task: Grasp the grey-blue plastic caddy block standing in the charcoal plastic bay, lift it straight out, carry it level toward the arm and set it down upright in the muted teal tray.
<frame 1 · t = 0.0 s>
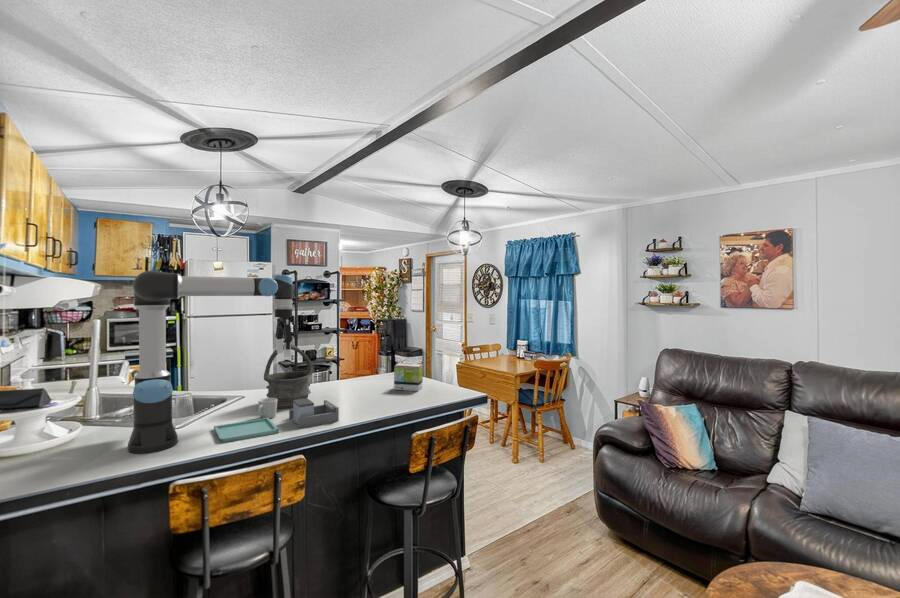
hand: (283, 354, 195), 28 cm above the countertop, fingers open, 13 cm apart
cup: (266, 418, 191), on the countertop
tray: (246, 431, 173), on the countertop
tea box: (408, 389, 250), on the countertop
basket: (288, 403, 217), on the countertop
caddy: (303, 421, 187), resting in bay
bay: (303, 421, 187), on the countertop
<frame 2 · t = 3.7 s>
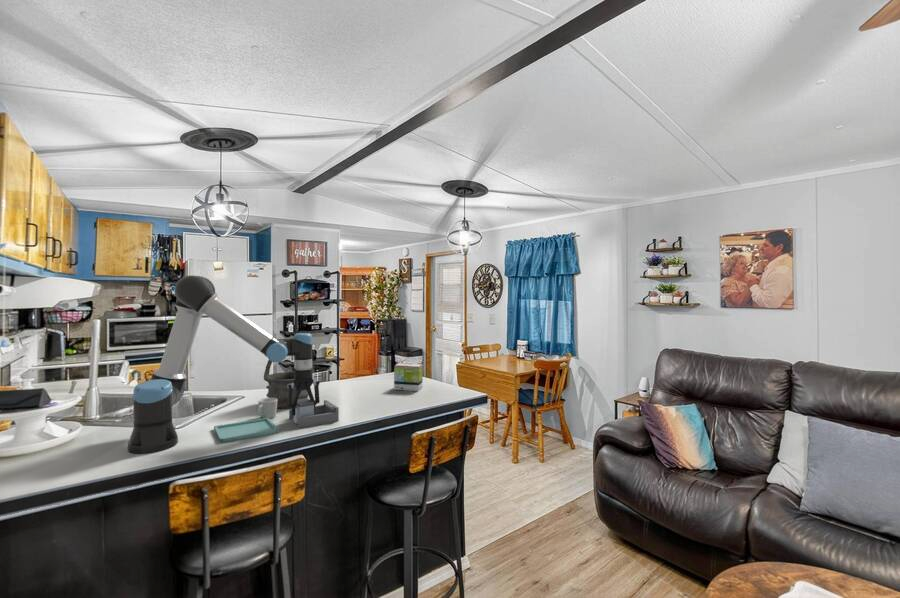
hand: (303, 421, 187), 0 cm above the countertop, fingers open, 6 cm apart
caddy: (303, 421, 187), resting in bay, touching gripper
everything else where it was.
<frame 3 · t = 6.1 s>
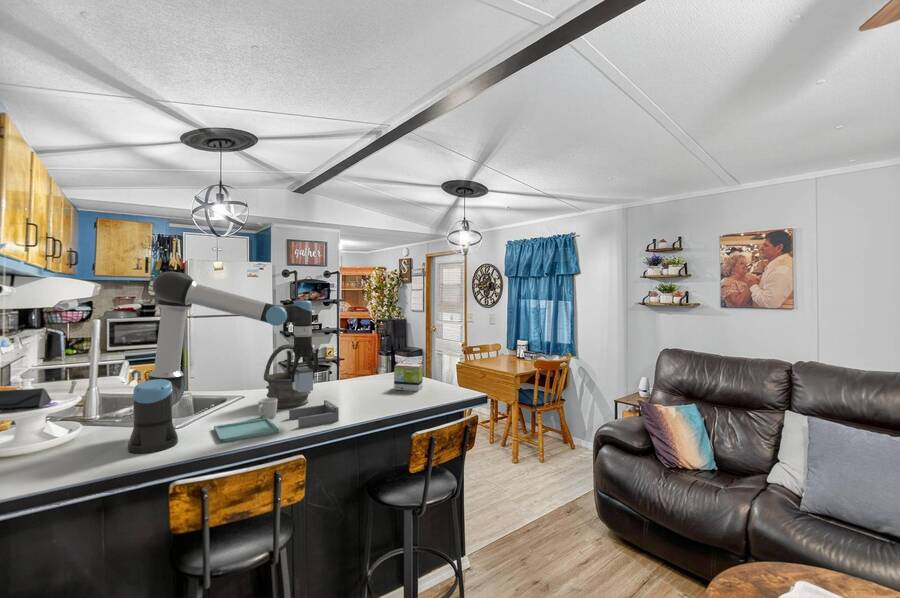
hand: (302, 388, 186), 15 cm above the countertop, fingers closed on caddy, 6 cm apart
caddy: (302, 389, 186), point 14 cm above the countertop, touching gripper
everything else where it was.
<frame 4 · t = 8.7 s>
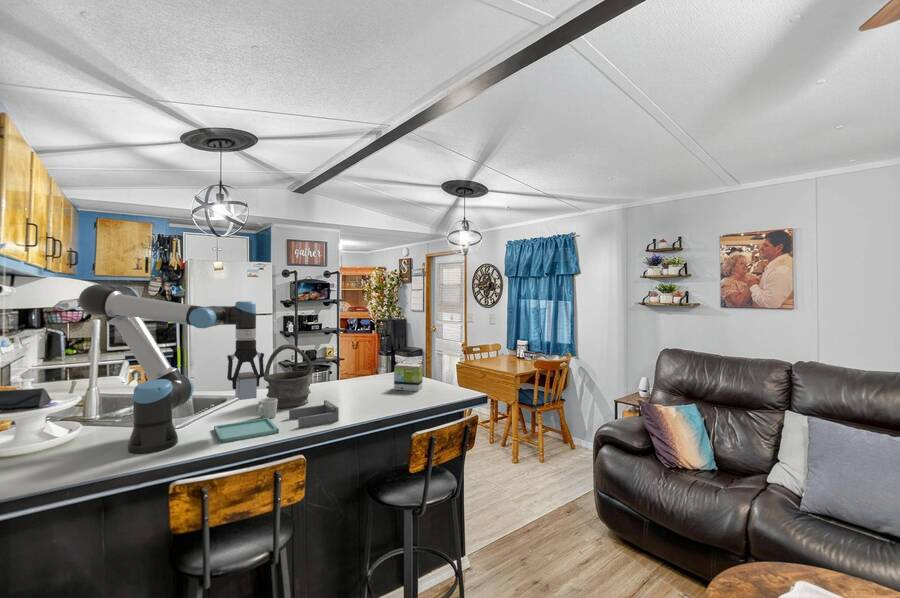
hand: (246, 395, 173), 15 cm above the countertop, fingers closed on caddy, 6 cm apart
caddy: (246, 396, 173), point 14 cm above the countertop, touching gripper
everything else where it was.
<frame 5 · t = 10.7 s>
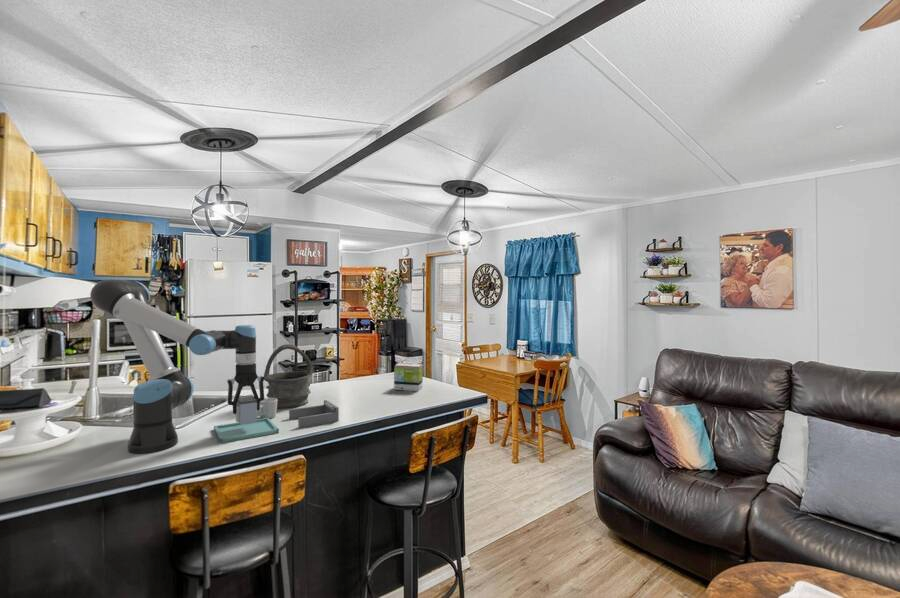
hand: (246, 419, 173), 5 cm above the countertop, fingers closed on caddy, 6 cm apart
caddy: (246, 420, 173), point 5 cm above the countertop, touching gripper
everything else where it was.
when the fingers open (1 cm above the countertop, at t = 12.8 s): caddy stays where it is, resting on tray.
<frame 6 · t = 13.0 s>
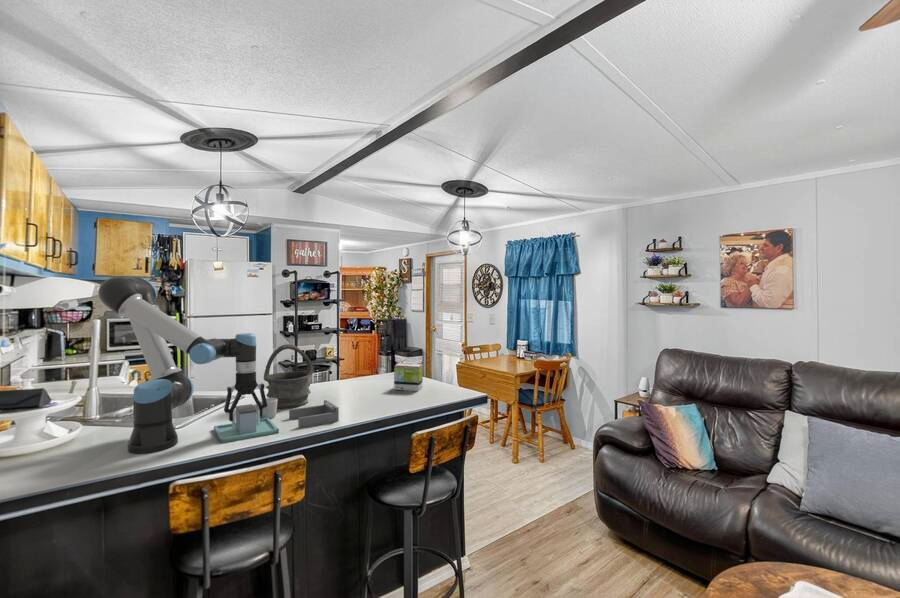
hand: (246, 426, 173), 2 cm above the countertop, fingers open, 8 cm apart
caddy: (245, 429, 173), point 1 cm above the countertop, touching tray
everything else where it was.
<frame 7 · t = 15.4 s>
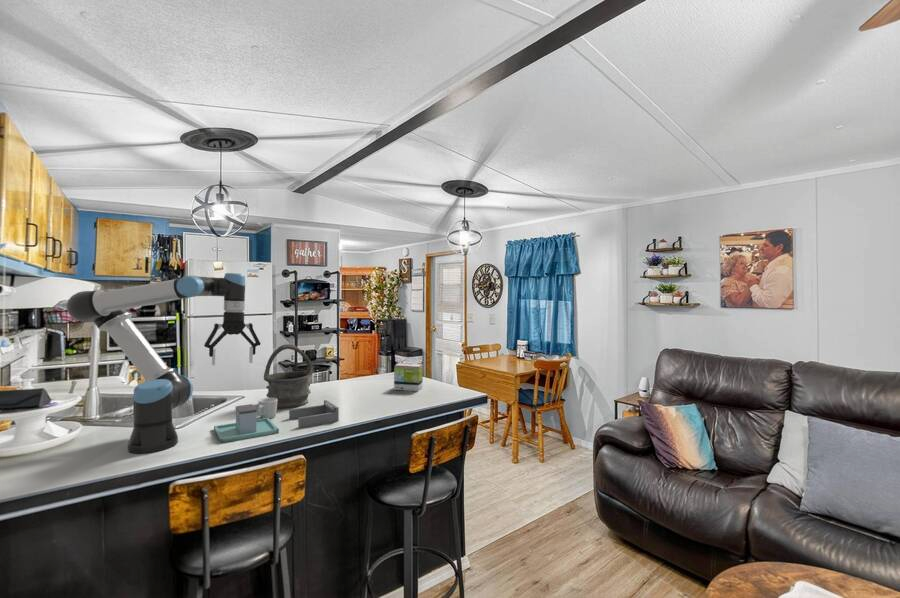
hand: (232, 363, 172), 28 cm above the countertop, fingers open, 13 cm apart
nothing on the countertop moved.
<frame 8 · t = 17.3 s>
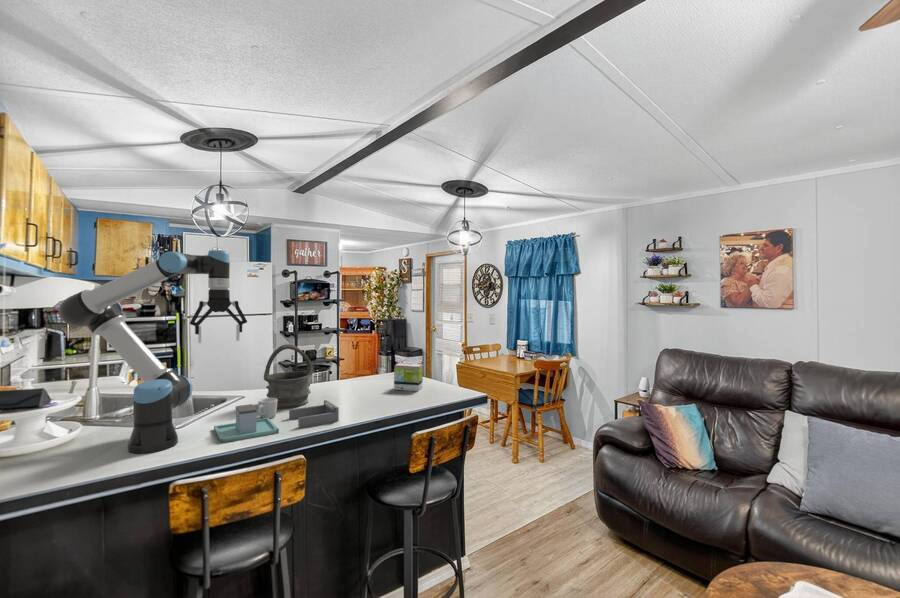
hand: (219, 341, 172), 37 cm above the countertop, fingers open, 13 cm apart
nothing on the countertop moved.
at the end: caddy inside the target area on the tray (0.1 cm from its centre), point 0.6 cm above the tray's base; caddy tilted 0°; the gripper is holding nothing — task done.
